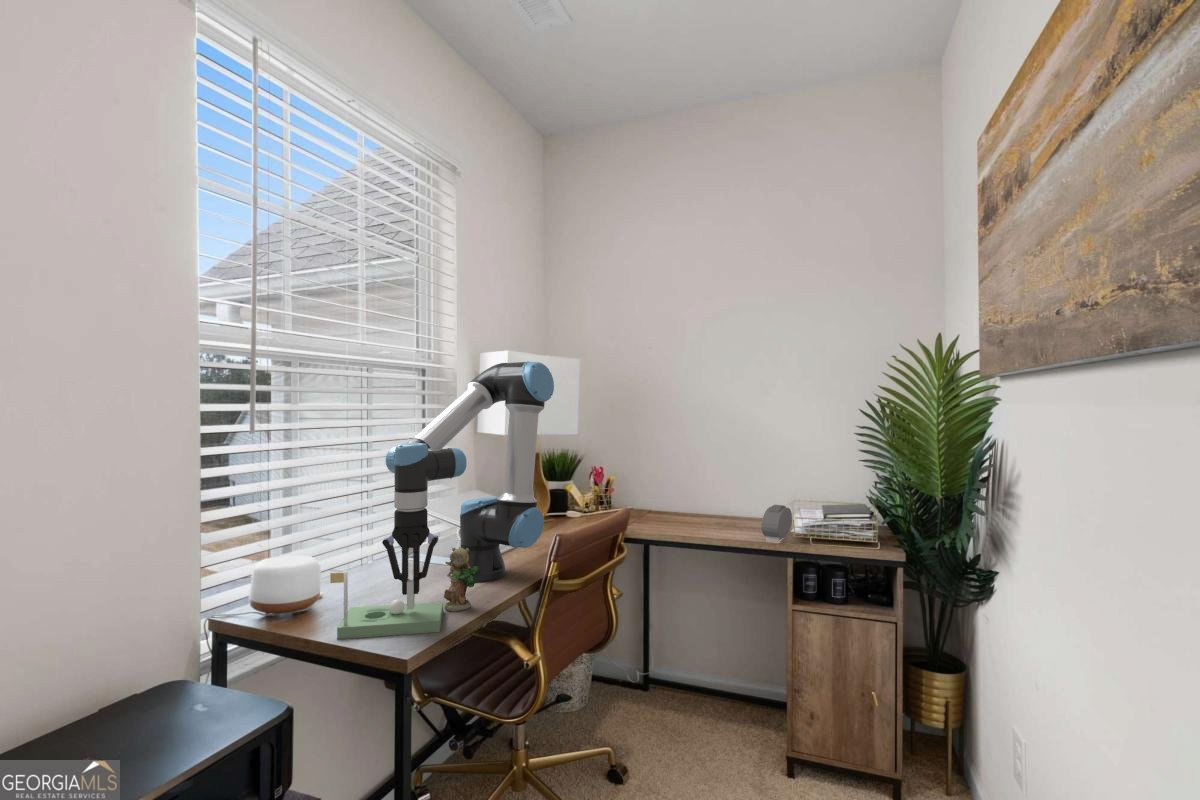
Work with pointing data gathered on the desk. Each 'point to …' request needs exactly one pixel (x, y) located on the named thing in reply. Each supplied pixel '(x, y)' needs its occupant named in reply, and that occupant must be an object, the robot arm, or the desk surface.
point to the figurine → (459, 580)
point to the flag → (341, 578)
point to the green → (391, 621)
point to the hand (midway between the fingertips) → (410, 607)
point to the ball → (397, 606)
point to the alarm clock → (776, 522)
